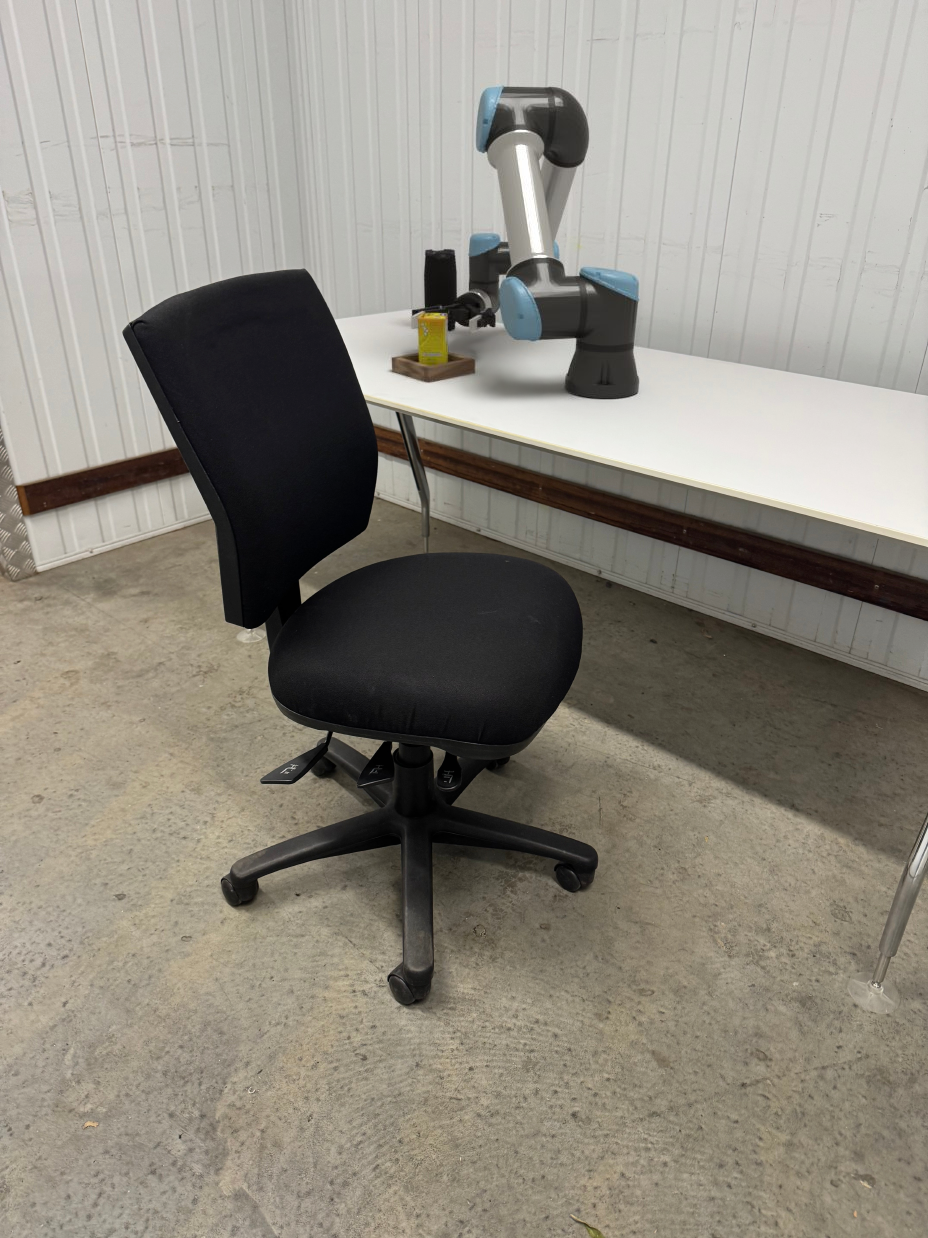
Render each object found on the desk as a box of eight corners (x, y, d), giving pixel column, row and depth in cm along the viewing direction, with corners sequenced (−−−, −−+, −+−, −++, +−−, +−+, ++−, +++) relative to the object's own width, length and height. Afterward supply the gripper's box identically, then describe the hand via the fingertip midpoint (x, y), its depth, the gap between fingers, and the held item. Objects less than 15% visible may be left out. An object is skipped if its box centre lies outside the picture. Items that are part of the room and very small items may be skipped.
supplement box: (421, 363, 199) (420, 312, 193) (448, 363, 198) (448, 312, 193) (418, 369, 193) (417, 317, 188) (445, 370, 193) (445, 317, 188)
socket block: (474, 372, 196) (475, 358, 194) (429, 382, 188) (428, 368, 187) (437, 362, 204) (437, 348, 203) (392, 371, 197) (391, 357, 195)
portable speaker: (453, 324, 243) (453, 247, 234) (459, 331, 235) (459, 252, 226) (422, 325, 242) (421, 248, 232) (427, 332, 234) (426, 252, 224)
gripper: (520, 327, 213) (495, 345, 195) (423, 320, 220) (390, 337, 202) (521, 294, 209) (495, 310, 192) (422, 288, 216) (388, 303, 199)
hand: (441, 324), depth 197 cm, fingers open, 13 cm apart
